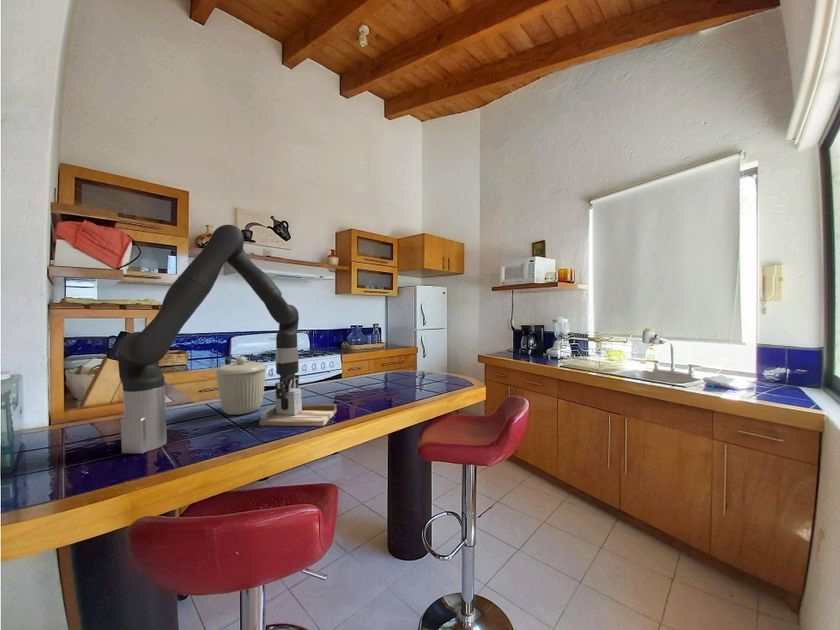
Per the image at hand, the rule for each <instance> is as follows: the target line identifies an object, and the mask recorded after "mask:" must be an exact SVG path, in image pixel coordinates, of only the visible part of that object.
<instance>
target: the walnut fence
mask: <svg viewBox="0 0 840 630" xmlns="http://www.w3.org/2000/svg"><path fill="white" fill-rule="evenodd" d="M335 409H336V410H337V403H302V410H335Z"/></svg>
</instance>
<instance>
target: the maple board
mask: <svg viewBox="0 0 840 630" xmlns="http://www.w3.org/2000/svg"><path fill="white" fill-rule="evenodd" d="M336 413H337V408H336V409H335V410H302V412H300V413H298V414H297V415H284V414H275V415H273V416H272V417H270V418H269V419H267V420H261V419H260V420H259V421H258V422H259V426H263V427H264V426H267V427H268V426H269V427H270V426H275V427H276V426H277V427H278V426H280V427H281V426H283V427H284V426H285V427H286V426H287V427H288V426H289V427H290V426H292V427H294V426H296V427H299V426H300V427H301V426H304V427H305V426H306V427H307V426H309V427H314V426H315V427H324V426H325V425H326V424H327V423H328V422H329V421H330V419H331V418H333V416H334V415H335V414H336Z"/></svg>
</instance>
